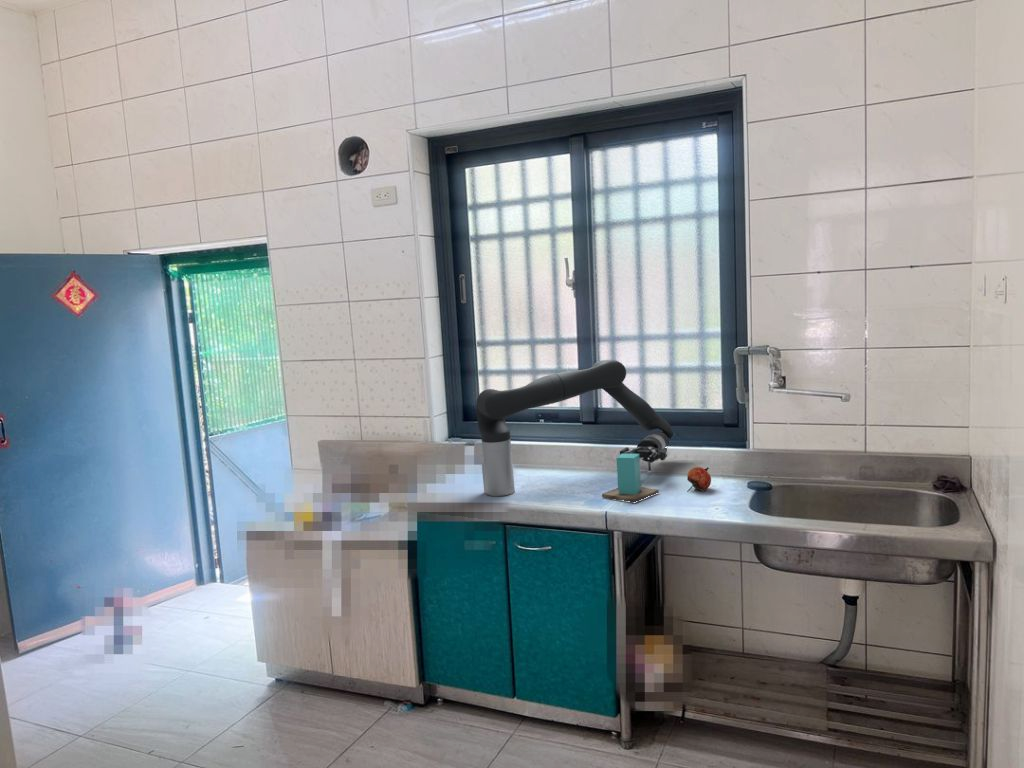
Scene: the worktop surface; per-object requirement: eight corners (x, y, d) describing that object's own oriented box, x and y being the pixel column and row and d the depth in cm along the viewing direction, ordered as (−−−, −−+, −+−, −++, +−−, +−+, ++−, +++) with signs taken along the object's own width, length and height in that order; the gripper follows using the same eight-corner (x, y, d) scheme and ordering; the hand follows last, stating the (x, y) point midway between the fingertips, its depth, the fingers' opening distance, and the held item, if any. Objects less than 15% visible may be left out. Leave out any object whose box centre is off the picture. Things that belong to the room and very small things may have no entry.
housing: (618, 493, 216) (616, 457, 215) (624, 488, 221) (621, 453, 220) (636, 494, 214) (634, 458, 213) (641, 489, 219) (639, 453, 217)
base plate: (602, 497, 218) (601, 493, 218) (626, 488, 226) (626, 484, 226) (634, 503, 209) (634, 499, 209) (658, 493, 217) (658, 489, 217)
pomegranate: (699, 502, 213) (722, 478, 214) (683, 484, 213) (706, 460, 214) (689, 498, 221) (712, 475, 222) (673, 480, 220) (696, 458, 221)
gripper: (629, 436, 241) (614, 446, 227) (672, 436, 235) (659, 447, 220) (631, 458, 242) (615, 470, 228) (673, 459, 235) (660, 471, 221)
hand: (637, 459), depth 224 cm, fingers open, 8 cm apart
